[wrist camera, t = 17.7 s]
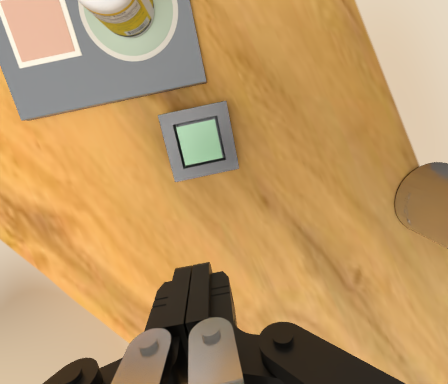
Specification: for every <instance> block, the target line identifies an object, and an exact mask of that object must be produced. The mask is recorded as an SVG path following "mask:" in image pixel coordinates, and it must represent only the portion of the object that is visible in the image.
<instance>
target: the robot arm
mask: <svg viewBox="0 0 448 384" xmlns="http://www.w3.org/2000/svg"><path fill="white" fill-rule="evenodd" d="M395 209H396V214H397V216H398V218H399V220H400V221H401V222H402V224H403V225H405V226H406V227H407V228H409V229H411V230H413V231H415V232H417V233H419V234H421V235H423V236H424V237H426V238H428V239H430V240H432V241H434V242H436V243H438V244H439V245H441V246H443V247H445V248H447V249H448V164H447V163H440V162H439V163H438V162H436V163H435V162H434V163H429V164H425V165H423V166H420V167H418V168H417V169H415V170H414V171H412V172H411V173H410V174H409V175H408V176H407V177H406V178H405V179H404V181H403V182H402V183H401V185H400V187H399V189H398V191H397V195H396V198H395ZM152 307H153V308H152V309H151V312H150V315H149V319H148V322H147V325H146V328H145V331H144V332H143V333H141V334H139V335H138V336H137V337H136V338H134V339H133V340H132V342H131V343H130V344H129V346H128V348H127V350H126V352H125V354H124V356H123V358H121V359H119V360H117V361H115V362H113V363H110V364H108V365H106V366H104V367H101V368H99V366H98V364H97V361H96V360H94V359H92V358H82V359H78V360H76V361H74V362H72V363H70V364H68V365H66V366H65V367H63V368H62V369H61V370H59V371H58V372H57V373H56V374H54V375H53V376H52V377H51V378H49V379H48V380H47V381H45V382H44V383H43V384H405V383H403V382H401V381H399V380H398V379H396V378H394V377H392V376H390V375H388V374H386V373H385V372H383V371H381V370H379V369H377V368H375V367H373V366H372V365H370V364H368V363H366V362H364V361H362V360H360V359H359V358H357V357H355V356H353V355H351V354H349V353H348V352H346V351H344V350H342V349H340V348H338V347H336V346H335V345H333V344H331V343H329V342H327V341H325V340H323V339H322V338H320V337H318V336H316V335H314V334H312V333H310V332H309V331H307V330H305V329H303V328H301V327H299V326H298V325H295V324H293V323H289V322H277V323H273V324H271V325H269V326H267V327H266V328H264V330H263V331H262V332H261V334H260V335H254V334H249V333H245V332H243V331H241V330H240V329H239V328H237V323H236V315H235V307H234V302H233V297H232V292H231V287H230V282H229V277H228V276H227V275H226V274H225V273H224V272H223V271H222V272H217V273H212V269H211V265H210V262H207V263H202V264H197V265H193V266H186V267H181V268H176V269H175V272H174V276H173V280H172V281H169V282H165V283H164V284H163V285H162V286H161V287H160V288H159V289H158V291H157V294H156V297H155V301H154V303H153V306H152Z"/></svg>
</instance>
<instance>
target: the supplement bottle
mask: <svg viewBox="0 0 448 384" xmlns="http://www.w3.org/2000/svg"><path fill="white" fill-rule="evenodd" d="M78 1H79V2H80V3H81V4H82V5H83V6H84V7H85V8H86V9H87V10H88V11H89V12H91V13H92V14H93V15H94V16H95V17H96V18H97V19H98V20H99V21H100V22H101V23H102V24H104V25H105V26H106V27H107V28H108V29H109V30H110V31H112V32H113V33H115V34H116V35H119V36H121V37H125V38H134V37H138V36H140V35H142V34H143V33H145V32H146V31H147V30H148V29H149V27H150V26H151V24H152V21H153V18H154V2H153V0H78Z"/></svg>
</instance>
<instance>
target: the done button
mask: <svg viewBox="0 0 448 384" xmlns="http://www.w3.org/2000/svg"><path fill="white" fill-rule="evenodd" d="M176 129H177V133H178V137H179V141H180V145H181V149H182V153H183V158H184V162H185V166H186V165H191V164H196V163H200V162H205V161H210V160H214V159H219V158H223V157H222V152H221V147H220V142H219V137H218V132H217V128H216V123H215V119H213V120H208V121H203V122H199V123H194V124H189V125H185V126H180V127H176Z"/></svg>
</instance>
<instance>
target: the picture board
mask: <svg viewBox="0 0 448 384" xmlns="http://www.w3.org/2000/svg"><path fill="white" fill-rule="evenodd" d="M153 2H154V18H153V21H152V24H151V26H150V27H149V29H148V30H147V31H146V32H145V33H143V34H142V35H140V36H138V37H134V38H125V37H121V36H119V35H116V34H115V33H113V32H112V31H110V30H109V29H108V28H107V27H106V26H105V25H104V24H102V23H101V22H100V21H99V20H98V19H97V18H96V17H95V16H94V15H93V14H92V13H91V12H89V11H88V10H87V9H86V8H85V7H84V6H83V5H82V4H81V3H80V2H79V1H78V0H0V66H1V69H2V71H3V74H4V76H5V79H6V82H7V84H8V87H9V89H10V92H11V95H12V97H13V100H14V102H15V105H16V108H17V110H18V113H19V115H20V118H21V120H28V121H29V120H34V119H38V118H43V117H48V116H53V115H57V114H62V113H67V112H71V111H76V110H81V109H86V108H90V107H95V106H100V105H104V104H109V103H114V102H119V101H123V100H128V99H133V98H138V97H142V96H147V95H152V94H156V93H161V92H166V91H171V90H175V89H180V88H185V87H189V86H194V85H199V84H204V83H206V77H205V72H204V67H203V63H202V58H201V53H200V48H199V43H198V38H197V34H196V29H195V24H194V19H193V14H192V9H191V5H190V0H153Z"/></svg>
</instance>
